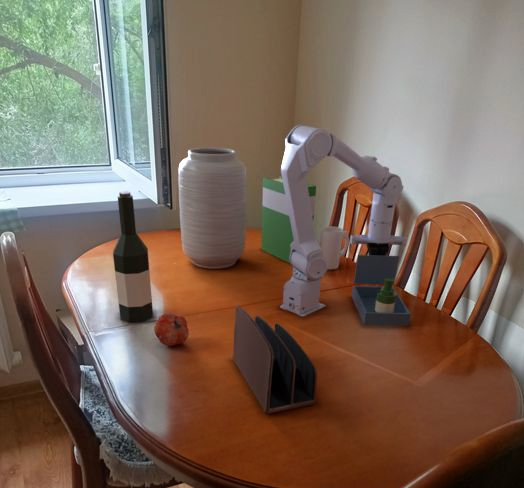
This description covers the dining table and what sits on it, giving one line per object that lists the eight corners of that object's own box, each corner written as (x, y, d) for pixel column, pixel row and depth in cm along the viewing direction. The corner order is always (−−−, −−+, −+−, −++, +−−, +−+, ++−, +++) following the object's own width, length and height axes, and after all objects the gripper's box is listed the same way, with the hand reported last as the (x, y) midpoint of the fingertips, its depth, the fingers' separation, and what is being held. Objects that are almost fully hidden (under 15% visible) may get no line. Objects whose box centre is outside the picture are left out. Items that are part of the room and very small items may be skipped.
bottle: (385, 324, 121) (392, 284, 116) (369, 318, 124) (375, 278, 119) (395, 318, 124) (402, 279, 119) (379, 312, 127) (386, 274, 122)
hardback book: (261, 249, 170) (263, 177, 159) (278, 245, 174) (281, 175, 162) (292, 264, 157) (297, 188, 146) (310, 260, 161) (316, 185, 150)
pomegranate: (151, 351, 111) (161, 343, 103) (148, 319, 113) (157, 309, 104) (183, 348, 115) (195, 340, 106) (179, 317, 116) (191, 307, 107)
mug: (324, 271, 153) (328, 233, 148) (313, 263, 159) (317, 227, 153) (351, 267, 157) (356, 230, 152) (340, 260, 163) (344, 224, 157)
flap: (353, 283, 133) (353, 283, 134) (393, 284, 134) (393, 284, 134) (358, 255, 129) (357, 254, 129) (399, 256, 129) (399, 255, 129)
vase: (174, 254, 162) (168, 146, 146) (231, 248, 170) (231, 145, 154) (193, 276, 146) (189, 157, 130) (255, 267, 154) (258, 155, 138)
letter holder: (266, 415, 88) (268, 347, 82) (232, 360, 105) (232, 300, 98) (315, 404, 92) (322, 338, 85) (275, 353, 108) (278, 294, 101)
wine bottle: (145, 324, 118) (134, 198, 104) (113, 320, 119) (97, 195, 105) (159, 310, 125) (150, 190, 111) (128, 306, 126) (115, 187, 112)
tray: (351, 298, 136) (353, 285, 134) (391, 299, 136) (393, 286, 134) (363, 326, 121) (365, 313, 119) (408, 327, 121) (410, 313, 119)
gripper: (404, 217, 131) (396, 265, 137) (350, 215, 131) (344, 264, 137) (412, 224, 125) (403, 274, 131) (355, 223, 124) (349, 273, 131)
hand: (373, 270), depth 134 cm, fingers closed, pressing on flap
